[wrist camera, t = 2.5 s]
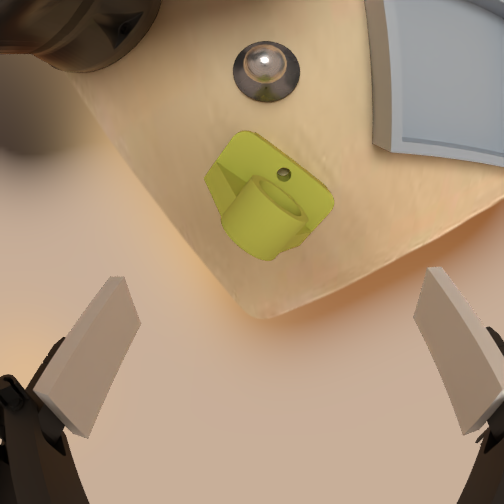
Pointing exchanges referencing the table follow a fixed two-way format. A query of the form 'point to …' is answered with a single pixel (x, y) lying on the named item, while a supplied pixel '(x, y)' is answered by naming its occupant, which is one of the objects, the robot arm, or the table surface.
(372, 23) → the bin
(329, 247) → the table surface
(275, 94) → the ball stud
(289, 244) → the bracket
